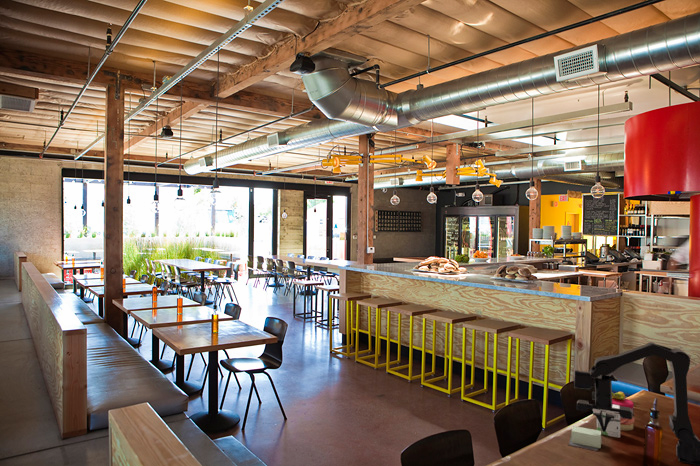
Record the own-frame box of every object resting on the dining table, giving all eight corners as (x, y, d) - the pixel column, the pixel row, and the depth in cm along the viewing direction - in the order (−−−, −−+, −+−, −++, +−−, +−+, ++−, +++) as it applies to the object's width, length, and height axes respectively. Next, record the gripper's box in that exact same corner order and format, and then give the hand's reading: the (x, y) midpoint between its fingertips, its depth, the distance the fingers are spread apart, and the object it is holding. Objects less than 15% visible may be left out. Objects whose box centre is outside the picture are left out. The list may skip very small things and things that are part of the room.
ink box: (596, 433, 190) (596, 405, 190) (596, 429, 194) (596, 401, 194) (620, 438, 185) (620, 408, 186) (620, 433, 190) (620, 405, 190)
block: (601, 431, 181) (573, 425, 186) (600, 436, 176) (571, 430, 181) (601, 442, 181) (573, 437, 186) (600, 448, 175) (571, 442, 181)
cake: (609, 419, 205) (608, 385, 206) (636, 425, 198) (635, 390, 199) (603, 426, 197) (603, 391, 198) (632, 432, 190) (631, 396, 191)
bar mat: (599, 440, 183) (599, 439, 183) (597, 451, 174) (597, 450, 174) (571, 435, 188) (571, 434, 188) (568, 445, 179) (568, 444, 179)
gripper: (631, 389, 180) (632, 429, 180) (578, 381, 190) (579, 419, 189) (631, 397, 170) (632, 439, 170) (576, 389, 180) (576, 429, 180)
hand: (604, 431), depth 178 cm, fingers closed
